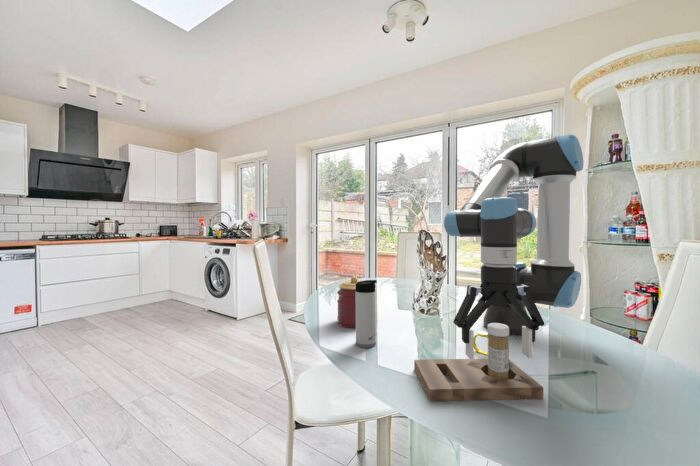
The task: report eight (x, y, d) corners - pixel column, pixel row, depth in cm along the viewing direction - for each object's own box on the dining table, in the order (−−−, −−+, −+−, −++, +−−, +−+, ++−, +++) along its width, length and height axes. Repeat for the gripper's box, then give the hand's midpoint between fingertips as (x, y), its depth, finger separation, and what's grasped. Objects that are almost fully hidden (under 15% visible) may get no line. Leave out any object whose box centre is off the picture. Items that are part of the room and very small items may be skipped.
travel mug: (375, 349, 90) (375, 282, 90) (354, 347, 92) (353, 281, 91) (378, 341, 97) (377, 278, 96) (357, 339, 98) (357, 278, 97)
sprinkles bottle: (496, 375, 74) (496, 321, 74) (513, 384, 70) (513, 326, 69) (482, 380, 72) (483, 323, 72) (499, 389, 68) (500, 329, 67)
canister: (377, 320, 117) (377, 275, 117) (360, 331, 106) (360, 280, 106) (349, 315, 124) (348, 272, 124) (330, 324, 113) (330, 277, 113)
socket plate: (507, 367, 78) (507, 358, 78) (543, 398, 64) (543, 387, 64) (414, 369, 77) (414, 359, 77) (429, 401, 63) (429, 389, 63)
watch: (471, 353, 88) (470, 332, 88) (475, 350, 90) (474, 330, 90) (493, 357, 84) (491, 336, 84) (496, 354, 86) (495, 333, 86)
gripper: (450, 267, 66) (450, 364, 67) (563, 266, 67) (562, 362, 67) (439, 263, 74) (440, 350, 74) (541, 262, 74) (540, 348, 75)
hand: (498, 356), depth 71 cm, fingers open, 13 cm apart
